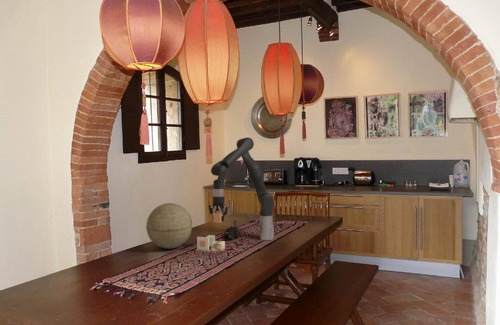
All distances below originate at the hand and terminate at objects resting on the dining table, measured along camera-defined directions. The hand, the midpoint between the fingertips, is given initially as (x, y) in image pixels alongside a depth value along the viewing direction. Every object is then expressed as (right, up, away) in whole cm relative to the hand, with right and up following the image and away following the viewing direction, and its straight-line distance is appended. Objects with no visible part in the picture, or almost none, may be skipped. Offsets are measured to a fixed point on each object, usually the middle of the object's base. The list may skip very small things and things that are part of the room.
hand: (218, 221), depth 266 cm
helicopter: (+8, -17, +36) cm, 41 cm away
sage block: (-6, -18, +12) cm, 22 cm away
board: (-10, -19, -4) cm, 22 cm away
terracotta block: (0, 0, 0) cm, 0 cm away
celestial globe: (-33, -19, +5) cm, 38 cm away
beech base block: (0, -19, -1) cm, 19 cm away
